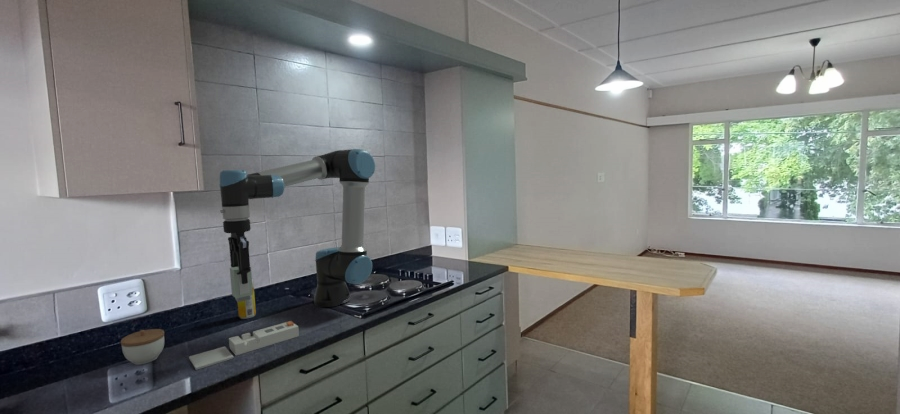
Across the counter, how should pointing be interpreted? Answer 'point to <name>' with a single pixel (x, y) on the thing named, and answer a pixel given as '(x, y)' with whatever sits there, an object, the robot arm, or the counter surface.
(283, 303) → the counter surface
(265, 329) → the power strip
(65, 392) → the counter surface
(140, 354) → the lidded jar
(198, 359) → the mat
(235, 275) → the block
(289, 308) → the counter surface
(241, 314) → the beer can
